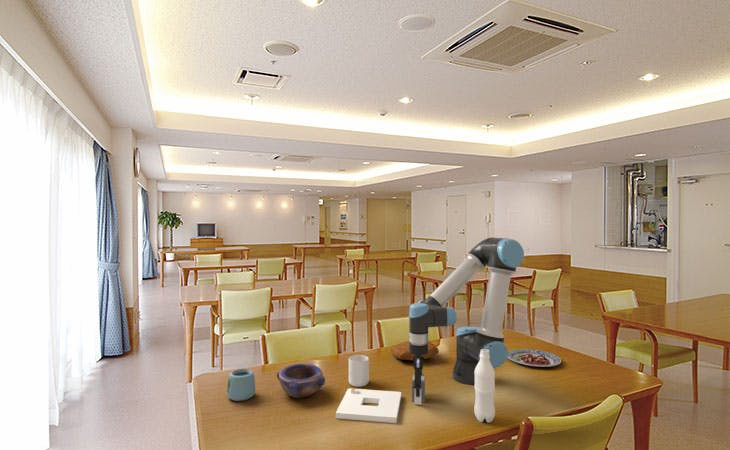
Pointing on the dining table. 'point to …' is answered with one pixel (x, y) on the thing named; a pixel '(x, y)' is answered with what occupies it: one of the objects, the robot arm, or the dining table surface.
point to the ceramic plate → (533, 358)
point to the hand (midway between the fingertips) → (418, 398)
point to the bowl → (301, 379)
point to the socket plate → (383, 412)
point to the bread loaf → (403, 353)
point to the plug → (421, 388)
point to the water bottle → (484, 388)
